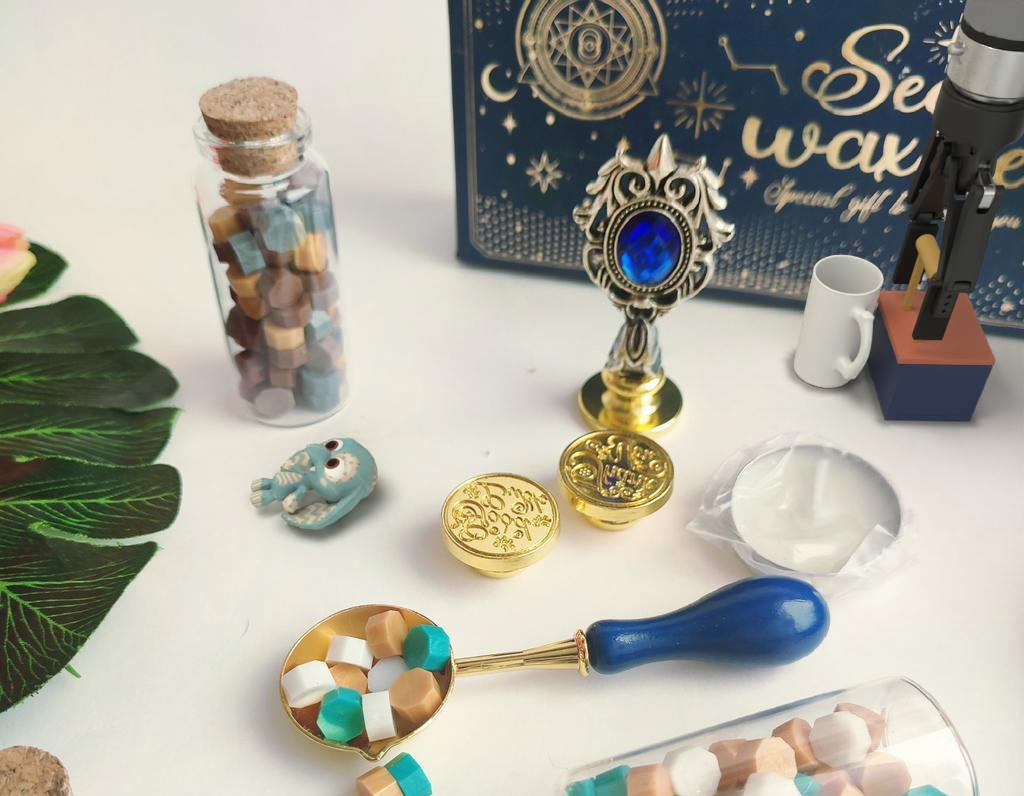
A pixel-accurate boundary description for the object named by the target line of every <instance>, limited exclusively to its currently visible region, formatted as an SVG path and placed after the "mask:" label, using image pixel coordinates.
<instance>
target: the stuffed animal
mask: <svg viewBox="0 0 1024 796" xmlns="http://www.w3.org/2000/svg"><path fill="white" fill-rule="evenodd" d="M378 476H379V474H378V465H377V462H376V460H375V458H374V457H373V454H371V452H370V450H369V449H367V448H366V447H365V446H363V444H361V443H360V442H358V441H357V440H355V439H354V438H352V437H346V438H345V437H344V438H343V437H333V438H330V439H327V440H325V441H324V442H321V443H315V442H314V443H309V444H307V445H306V447H305V448H303V449H301V450H300V449H299V450H298V451H296V452H295V453H293V455H292V456H290V457H289V458H288V459H286V460H285V461H284V462H283V463H282V464H281V466H280V471H279V472H276V473H275V474H274V475H273V477H272V478H270V477H269V478H268V477H259V478H256V479H253V480H252V481H251V484H250V489H251V492H252V493H251V496H250V503H251V505H252V506H253V507H254V508H255V509H260V508H264V507H267V506H269V505H270V504H271V503H273V502H274V501H276V500H277V501H280V502H282V506H283V509H284V510H285V511H286V512H283V513H282V514H281V515H280V517H281V518H282V520H283V521H284V522H285V523H287V524H288V525H291V526H294V527H297V528H300V529H303V530H304V529H305V530H317V531H318V530H321V529H323V528H326V527H328V526H330V525H334V524H335V523H336V522H337V521H338V520H340V519H341V518H343V517H344V516H345V515H347V514H348V513H349V512H351V511H352V510H353V509H354V508H355V507H356V506H357V505H358V504H359V503H360V502H361V500H364V499H366V498H368V497H369V496H370V495H371V493H372V492H373V490H374V489H375V487H376V484H377V481H378ZM310 490H314V491H315V492H316V493H318V494H319V495H320V496H321V497H322V498H323V499H324V500H325V501H327V502H323V501H317V502H313V503H311V504H306V505H305V506H304V505H303V506H301V507H300V505H301V503H302V501H303V499H304V497H305V495H306V494H307V492H308V491H310Z"/></svg>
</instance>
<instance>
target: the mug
mask: <svg viewBox="0 0 1024 796" xmlns="http://www.w3.org/2000/svg"><path fill="white" fill-rule="evenodd" d="M884 279H885V278H884V274H883V273H882V270H880V268H879V267H877V266H876V265H875V264H874V263H872V262H871V261H869V260H867V259H864V258H861V257H859V256H854V255H848V254H834V255H829V256H825V257H823V258H821V259H820V260H818V261H817V262H816V263H815V264H814V266H813V270H812V276H811V280H810V284H809V288H808V293H807V298H806V303H805V306H804V312H803V316H802V321H801V326H800V330H799V336H798V340H797V344H796V350H795V355H794V360H793V371H794V372H795V374H796V375H797V376H798V378H800V379H801V380H802V381H803V382H805V383H806V384H809V385H811V386H814V387H819V388H825V389H835V388H839V387H842V386H844V385H846V384H847V383H849V382H850V381H851V380H855V379H856V378H857V377H858V376H859V374H860V372H862V370H863V368H864V367H865V365H866V364H867V359H868V356H869V353H870V348H871V342H872V332H873V320H874V316H875V315H874V314H875V311H876V308H877V305H878V302H877V301H878V298H879V294H880V291H882V286H883V284H884Z"/></svg>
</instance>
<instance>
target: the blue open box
mask: <svg viewBox="0 0 1024 796" xmlns="http://www.w3.org/2000/svg"><path fill="white" fill-rule="evenodd" d="M873 316H874V320H873V332H872V342H871V348H870V353H869V356H868V359H867V361H866V364H867V367H868V370H869V374H870V377H871V380H872V383H873V386H874V390H875V393H876V396H877V399H878V403H879V406H880V410H881V413H882V416H883V419H884V420H885V421H929V422H931V421H932V422H934V421H935V422H971V421H972V419H973V415H974V412H975V410H976V408H977V406H978V404H979V401H980V398H981V396H982V393H983V391H984V389H985V386H986V384H987V381H988V379H989V377H990V374H991V372H992V370H993V366H994V365H940V364H898V362H897V359H896V356H895V353H894V350H893V347H892V344H891V341H890V338H889V335H888V332H887V329H886V326H885V323H884V320H883V317H882V314H881V311H880V308H879V305H878V304H877V305H876V308H875V312H874V315H873Z"/></svg>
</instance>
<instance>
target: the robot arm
mask: <svg viewBox="0 0 1024 796" xmlns="http://www.w3.org/2000/svg"><path fill="white" fill-rule="evenodd" d="M946 53H947V54H948V55H950V58H949V60H948V65H947V68H946V74H947V76H946V77H945V78H944V79H943V80H942V82H941V85H940V89H939V92H938V96H937V99H936V102H935V106H934V109H933V113H932V116H931V117H932V119H931V120H932V127H931V131H930V135H929V137H928V140H927V142H926V145H925V148H924V151H923V153H922V156H921V158H920V161H919V163H918V166H917V169H916V172H915V174H914V177H913V179H912V182H911V184H910V187H909V188H908V189H909V190H908V192H907V195H906V198H905V201H906V204H907V205H910V206H911V207H910V209H909V210H908V211H909V212H908V218H909V221H910V222H909V223H908V226H907V229H906V231H905V235H904V239H903V241H902V245H901V248H900V252H899V255H898V258H897V262H896V265H895V267H894V272H893V275H892V278H891V281H892V284H893V285H909V282H910V279H911V276H912V273H913V270H914V267H915V264H916V260H917V257H918V254H919V253H918V250H917V248H916V241H917V239H918V238H919V237H921V236H922V235H925V234H930V235H932V236H934V238H935V240H936V239H937V236H938V233H939V229H940V226H939V224H938V223H932V222H935V221H936V222H937V221H938V222H944V225H943V233H942V238H941V245H940V256H939V262H938V269H937V275H936V278H931V279H929V278H927V279H926V280H927V281H926V284H927V289H926V290H925V291H926V294H925V297H924V300H923V303H922V306H921V309H920V312H919V315H918V318H917V321H916V324H915V327H914V330H913V332H912V337H913V340H942V339H943V337H944V334H945V331H946V328H947V326H948V323H949V320H950V317H951V315H952V312H953V309H954V306H955V303H956V301H957V298H958V295H959V293H967V294H973V293H974V292H975V290H976V286H977V283H978V279H979V275H980V273H981V269H982V265H983V262H984V257H985V255H986V251H987V247H988V243H989V240H990V237H991V232H992V229H993V226H994V221H995V218H996V215H997V212H998V210H999V208H1000V205H1001V204H1002V201H1003V199H1004V196H1005V192H1006V188H1005V185H1004V184H994V182H993V179H992V178H993V177H994V176H995V174H996V170H997V165H998V164H997V163H998V159H997V157H998V152H1000V151H1001V150H1002V149H1003V148H1006V147H1007V146H1010V145H1012V144H1014V143H1016V142H1017V141H1019V139H1021V138H1022V136H1023V135H1024V0H966V2H965V5H964V9H963V13H962V17H961V20H960V24H959V27H958V30H957V35H956V38H955V42H950V43H949V44H948V45H947V51H946ZM955 196H964V197H965V198H955ZM945 208H946V213H945V212H944V209H945ZM925 273H926V270H925V268H924V269H923V272H922V275H921V278H920V281H919V284H918V285H921V284H922V281H923V278H924V275H925Z"/></svg>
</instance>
